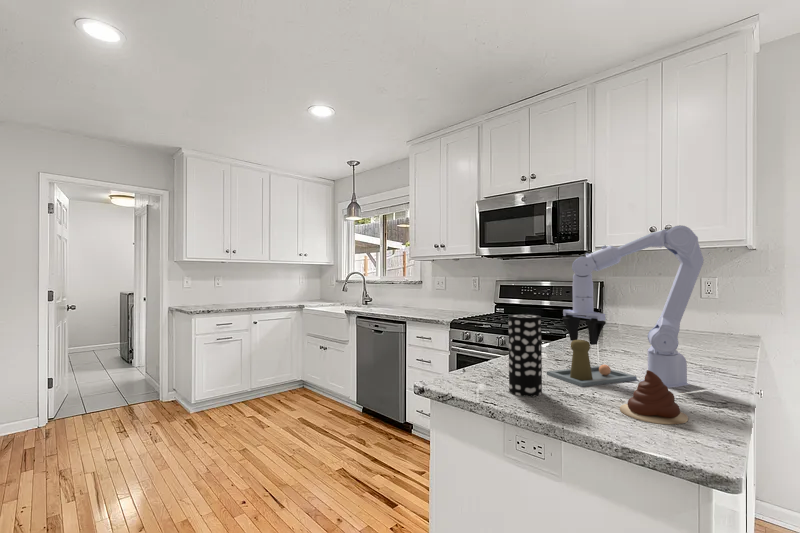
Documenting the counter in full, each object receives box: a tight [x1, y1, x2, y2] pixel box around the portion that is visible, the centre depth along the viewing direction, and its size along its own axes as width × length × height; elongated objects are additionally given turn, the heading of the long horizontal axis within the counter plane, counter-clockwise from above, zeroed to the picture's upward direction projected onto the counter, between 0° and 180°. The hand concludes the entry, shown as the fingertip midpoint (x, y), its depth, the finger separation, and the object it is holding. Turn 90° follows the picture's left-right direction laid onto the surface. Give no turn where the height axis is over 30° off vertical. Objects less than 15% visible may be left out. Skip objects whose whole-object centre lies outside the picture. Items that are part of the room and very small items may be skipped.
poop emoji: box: [627, 369, 681, 418], centre depth 92 cm, size 10×8×9 cm
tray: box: [546, 365, 638, 388], centre depth 122 cm, size 20×14×2 cm
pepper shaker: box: [570, 339, 593, 380], centre depth 121 cm, size 6×6×11 cm
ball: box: [599, 364, 611, 376], centre depth 124 cm, size 3×3×3 cm
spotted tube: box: [508, 314, 543, 397], centre depth 109 cm, size 8×8×20 cm
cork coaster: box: [619, 403, 689, 426], centre depth 92 cm, size 13×13×1 cm
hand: (583, 342), depth 124 cm, fingers open, 7 cm apart
